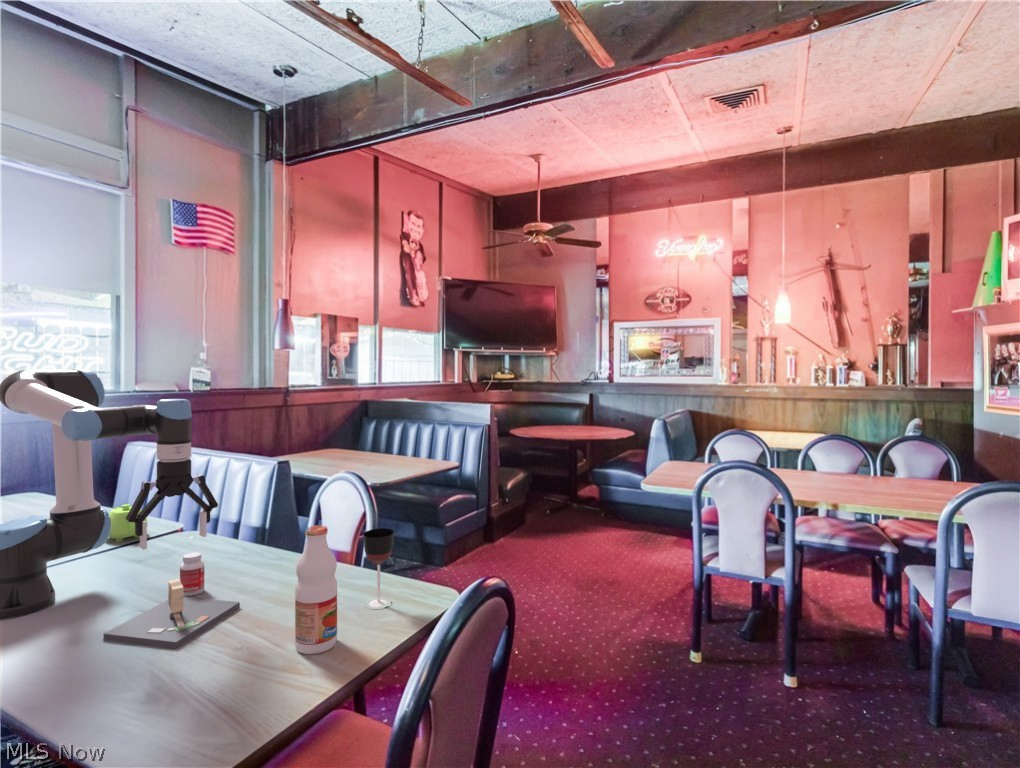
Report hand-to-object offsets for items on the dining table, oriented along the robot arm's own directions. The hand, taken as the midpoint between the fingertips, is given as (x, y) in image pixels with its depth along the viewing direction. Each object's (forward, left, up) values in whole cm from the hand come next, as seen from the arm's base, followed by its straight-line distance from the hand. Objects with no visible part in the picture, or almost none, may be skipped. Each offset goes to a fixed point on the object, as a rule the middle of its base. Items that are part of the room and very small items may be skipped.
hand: (174, 541), depth 138 cm
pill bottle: (-9, +16, -21) cm, 28 cm away
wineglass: (+47, +20, -21) cm, 55 cm away
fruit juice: (+42, -4, -21) cm, 47 cm away
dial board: (+1, -1, -21) cm, 21 cm away
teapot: (-72, +55, -21) cm, 93 cm away
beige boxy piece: (+3, -2, -19) cm, 19 cm away
